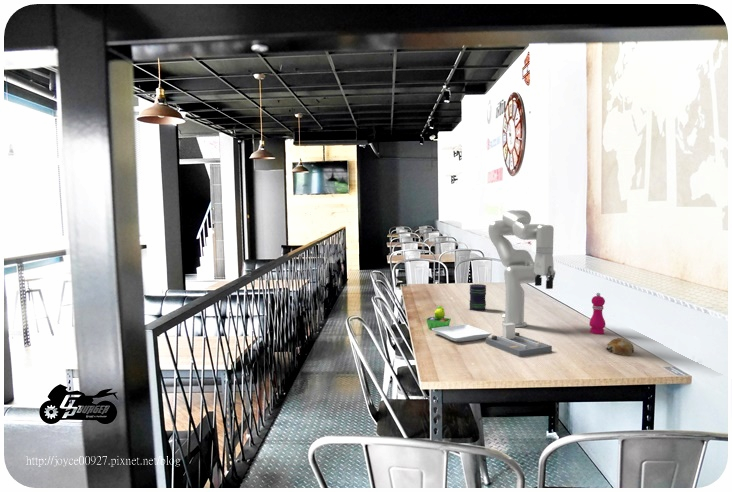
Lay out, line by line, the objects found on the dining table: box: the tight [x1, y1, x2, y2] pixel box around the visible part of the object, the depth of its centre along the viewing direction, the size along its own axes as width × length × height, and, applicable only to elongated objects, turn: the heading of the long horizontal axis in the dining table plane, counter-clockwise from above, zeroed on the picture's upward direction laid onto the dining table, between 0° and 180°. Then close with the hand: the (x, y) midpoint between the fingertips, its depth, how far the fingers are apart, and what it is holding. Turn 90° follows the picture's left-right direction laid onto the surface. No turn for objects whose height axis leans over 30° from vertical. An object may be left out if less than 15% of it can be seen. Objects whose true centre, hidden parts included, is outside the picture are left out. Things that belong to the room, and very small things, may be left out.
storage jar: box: [469, 283, 487, 312], centre depth 296 cm, size 10×10×15 cm
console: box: [485, 331, 553, 358], centre depth 213 cm, size 22×18×4 cm
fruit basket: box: [425, 305, 451, 330], centre depth 248 cm, size 11×9×11 cm
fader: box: [501, 323, 516, 339], centre depth 219 cm, size 3×5×7 cm, turn 114°
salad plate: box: [431, 324, 492, 343], centre depth 232 cm, size 21×21×3 cm
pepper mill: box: [588, 292, 606, 335], centre depth 239 cm, size 7×7×20 cm
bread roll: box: [606, 337, 635, 356], centre depth 206 cm, size 10×10×8 cm
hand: (543, 287), depth 228 cm, fingers open, 9 cm apart
